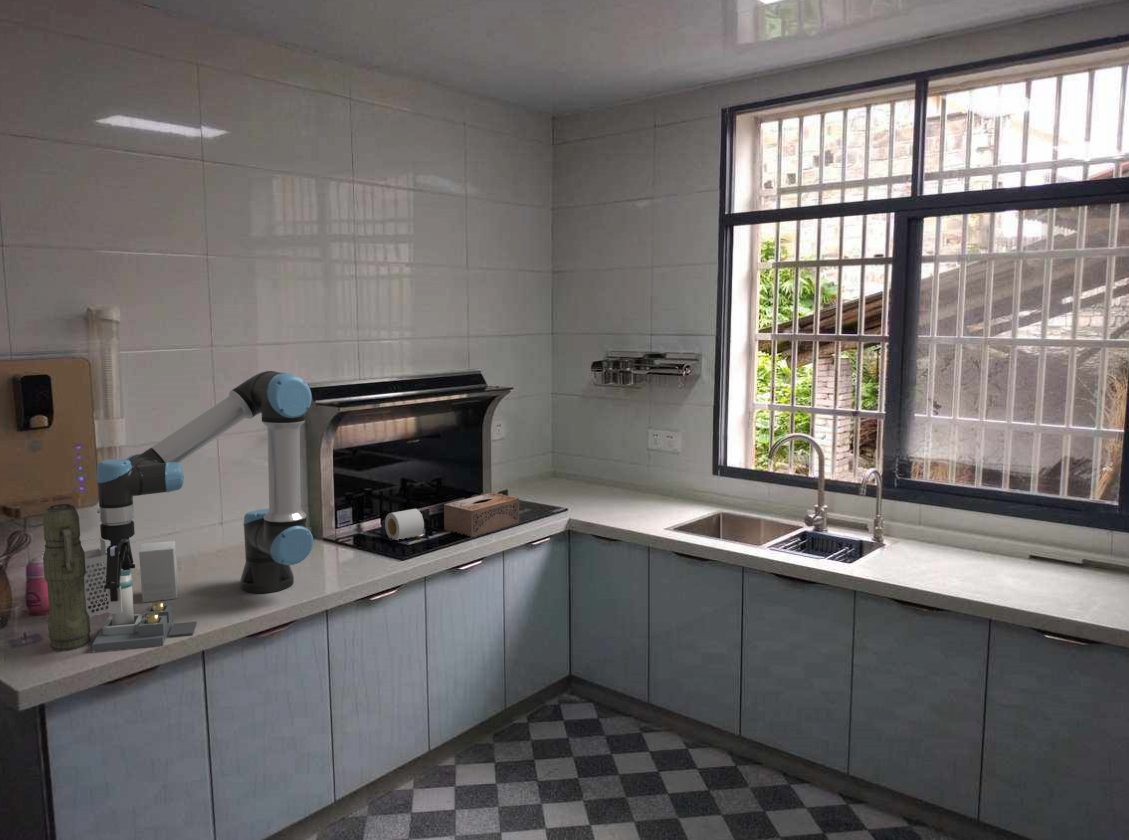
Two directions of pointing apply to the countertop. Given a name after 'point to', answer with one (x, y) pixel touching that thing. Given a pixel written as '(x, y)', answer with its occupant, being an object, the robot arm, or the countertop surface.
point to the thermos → (65, 579)
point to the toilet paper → (404, 524)
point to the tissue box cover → (481, 514)
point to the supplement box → (158, 571)
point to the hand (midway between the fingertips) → (121, 603)
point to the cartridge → (125, 601)
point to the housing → (135, 632)
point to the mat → (182, 629)
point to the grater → (95, 577)
